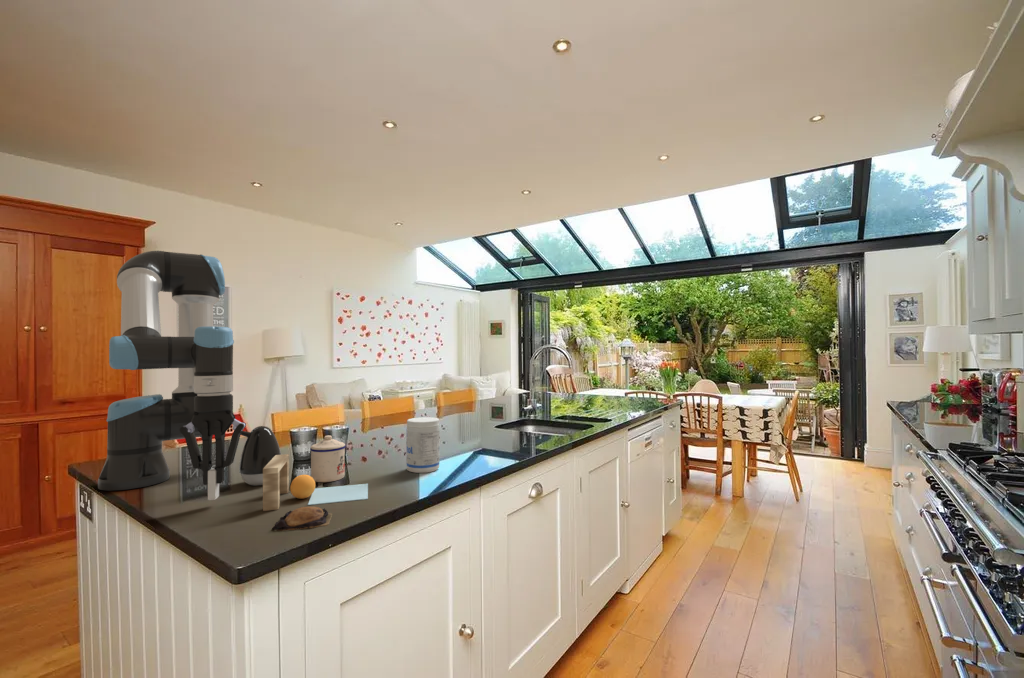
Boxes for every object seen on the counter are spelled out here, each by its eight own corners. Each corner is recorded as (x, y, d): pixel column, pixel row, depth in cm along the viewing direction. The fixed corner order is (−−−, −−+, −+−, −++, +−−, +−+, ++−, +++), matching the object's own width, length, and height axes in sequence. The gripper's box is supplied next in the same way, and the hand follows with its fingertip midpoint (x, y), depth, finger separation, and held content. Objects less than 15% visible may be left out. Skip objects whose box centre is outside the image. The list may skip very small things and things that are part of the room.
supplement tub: (401, 469, 137) (400, 419, 137) (430, 463, 142) (429, 416, 143) (415, 475, 129) (415, 422, 129) (445, 470, 135) (445, 419, 135)
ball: (290, 475, 112) (314, 469, 113) (295, 497, 112) (319, 490, 114) (285, 482, 107) (310, 475, 108) (290, 505, 107) (315, 498, 108)
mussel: (333, 515, 100) (333, 498, 100) (328, 530, 92) (328, 511, 92) (280, 520, 97) (280, 502, 97) (269, 535, 89) (269, 516, 89)
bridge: (262, 511, 101) (262, 468, 102) (275, 492, 115) (275, 455, 116) (277, 509, 102) (277, 467, 103) (288, 490, 116) (288, 454, 116)
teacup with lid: (344, 481, 125) (344, 437, 125) (308, 484, 122) (308, 440, 122) (346, 470, 136) (346, 430, 136) (313, 473, 133) (313, 432, 134)
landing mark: (314, 489, 117) (314, 488, 117) (367, 484, 121) (367, 483, 121) (307, 505, 105) (307, 504, 105) (367, 499, 109) (367, 498, 109)
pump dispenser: (241, 480, 127) (241, 424, 127) (283, 476, 131) (283, 422, 131) (235, 490, 117) (235, 430, 118) (281, 485, 121) (281, 427, 122)
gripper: (173, 396, 100) (173, 506, 100) (241, 394, 104) (241, 500, 103) (186, 393, 107) (186, 496, 107) (249, 391, 111) (249, 490, 111)
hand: (213, 498), depth 105 cm, fingers closed
